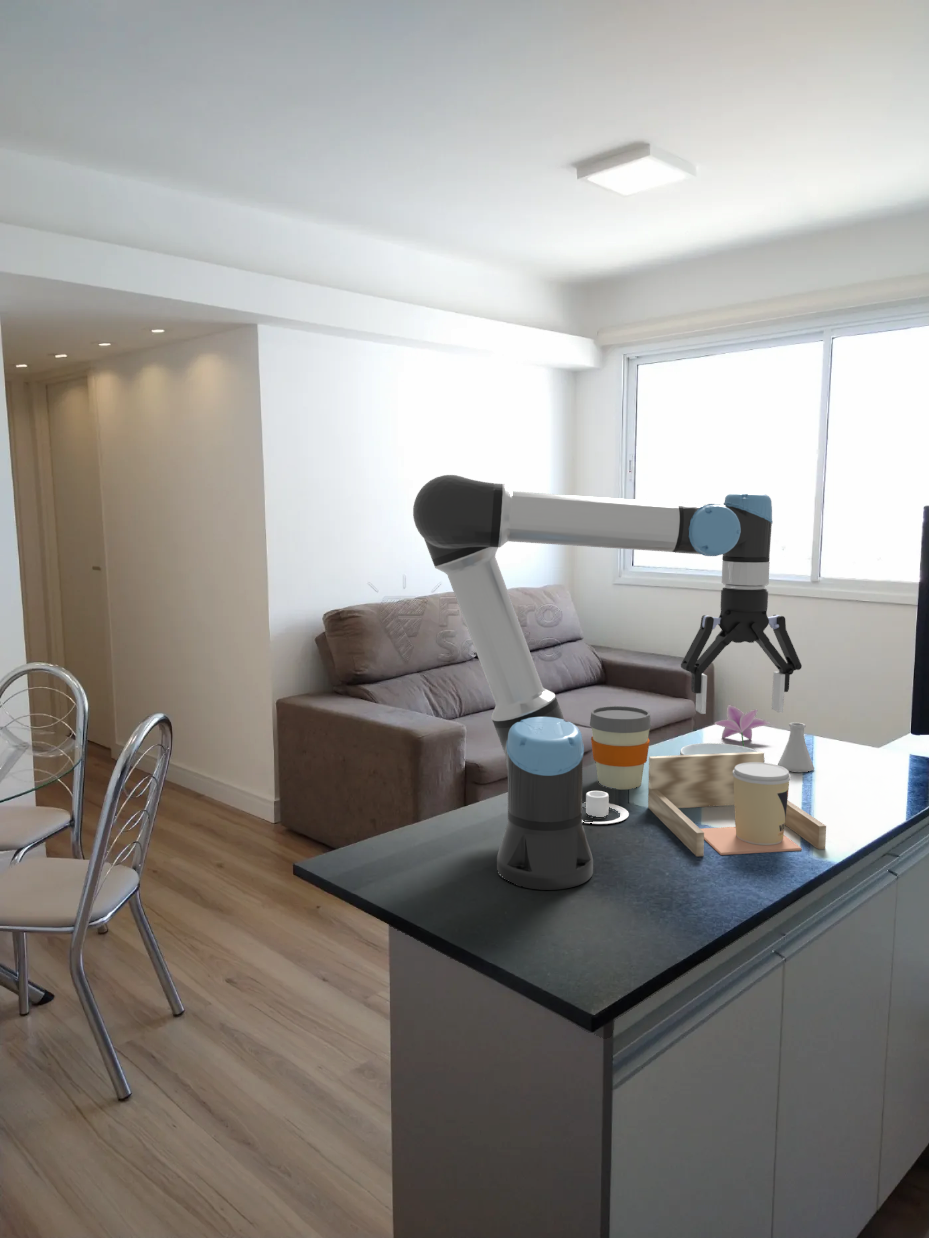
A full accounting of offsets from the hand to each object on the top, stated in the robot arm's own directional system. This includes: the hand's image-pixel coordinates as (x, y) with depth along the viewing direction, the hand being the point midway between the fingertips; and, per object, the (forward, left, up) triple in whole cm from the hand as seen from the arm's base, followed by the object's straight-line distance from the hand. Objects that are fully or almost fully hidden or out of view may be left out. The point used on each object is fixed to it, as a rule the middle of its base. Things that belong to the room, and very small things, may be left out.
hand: (739, 711), depth 148 cm
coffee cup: (+4, -1, -22) cm, 22 cm away
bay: (+1, +5, -22) cm, 23 cm away
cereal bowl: (+9, +28, -23) cm, 37 cm away
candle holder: (-21, +15, -23) cm, 34 cm away
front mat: (+1, -1, -22) cm, 22 cm away
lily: (+28, +59, -23) cm, 70 cm away
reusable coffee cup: (-11, +33, -22) cm, 41 cm away
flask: (+30, +37, -23) cm, 53 cm away
